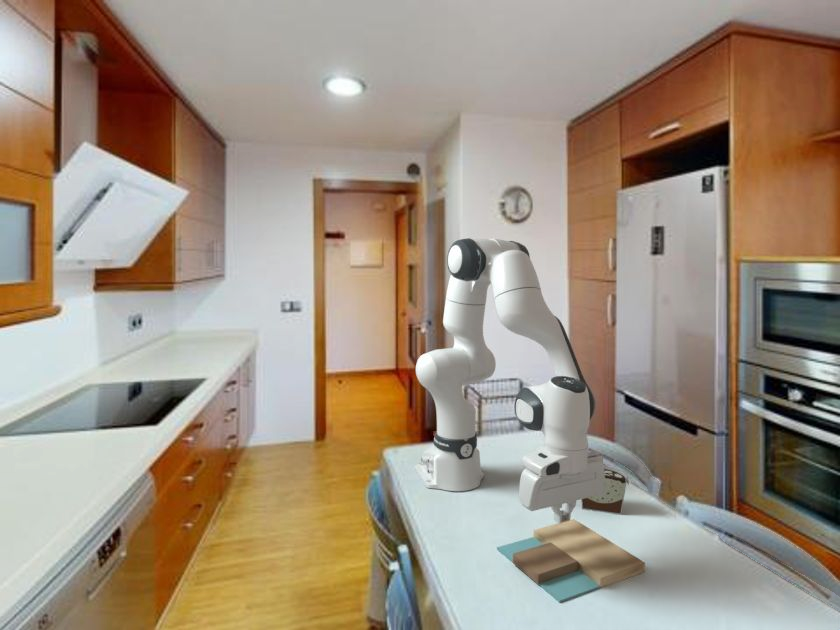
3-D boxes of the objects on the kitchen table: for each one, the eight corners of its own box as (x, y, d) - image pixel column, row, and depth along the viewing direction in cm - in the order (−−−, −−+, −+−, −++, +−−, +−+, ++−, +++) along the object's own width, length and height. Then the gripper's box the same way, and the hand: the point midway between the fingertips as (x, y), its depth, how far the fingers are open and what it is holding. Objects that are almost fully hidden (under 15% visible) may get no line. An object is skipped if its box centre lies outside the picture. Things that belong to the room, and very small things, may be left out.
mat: (496, 549, 111) (496, 547, 111) (533, 538, 115) (533, 537, 115) (559, 602, 93) (559, 600, 93) (600, 587, 97) (600, 585, 97)
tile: (512, 563, 105) (513, 553, 104) (550, 551, 109) (550, 542, 109) (538, 584, 98) (538, 574, 97) (577, 570, 102) (577, 561, 102)
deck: (533, 538, 115) (533, 530, 115) (573, 527, 120) (574, 519, 120) (600, 587, 97) (600, 577, 97) (644, 571, 102) (644, 562, 102)
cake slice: (626, 505, 132) (627, 467, 131) (627, 515, 126) (629, 476, 125) (576, 498, 136) (577, 461, 135) (576, 508, 130) (577, 470, 129)
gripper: (592, 444, 112) (588, 504, 113) (515, 458, 103) (513, 523, 104) (614, 454, 106) (610, 517, 107) (535, 470, 97) (532, 538, 99)
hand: (562, 520), depth 106 cm, fingers closed
